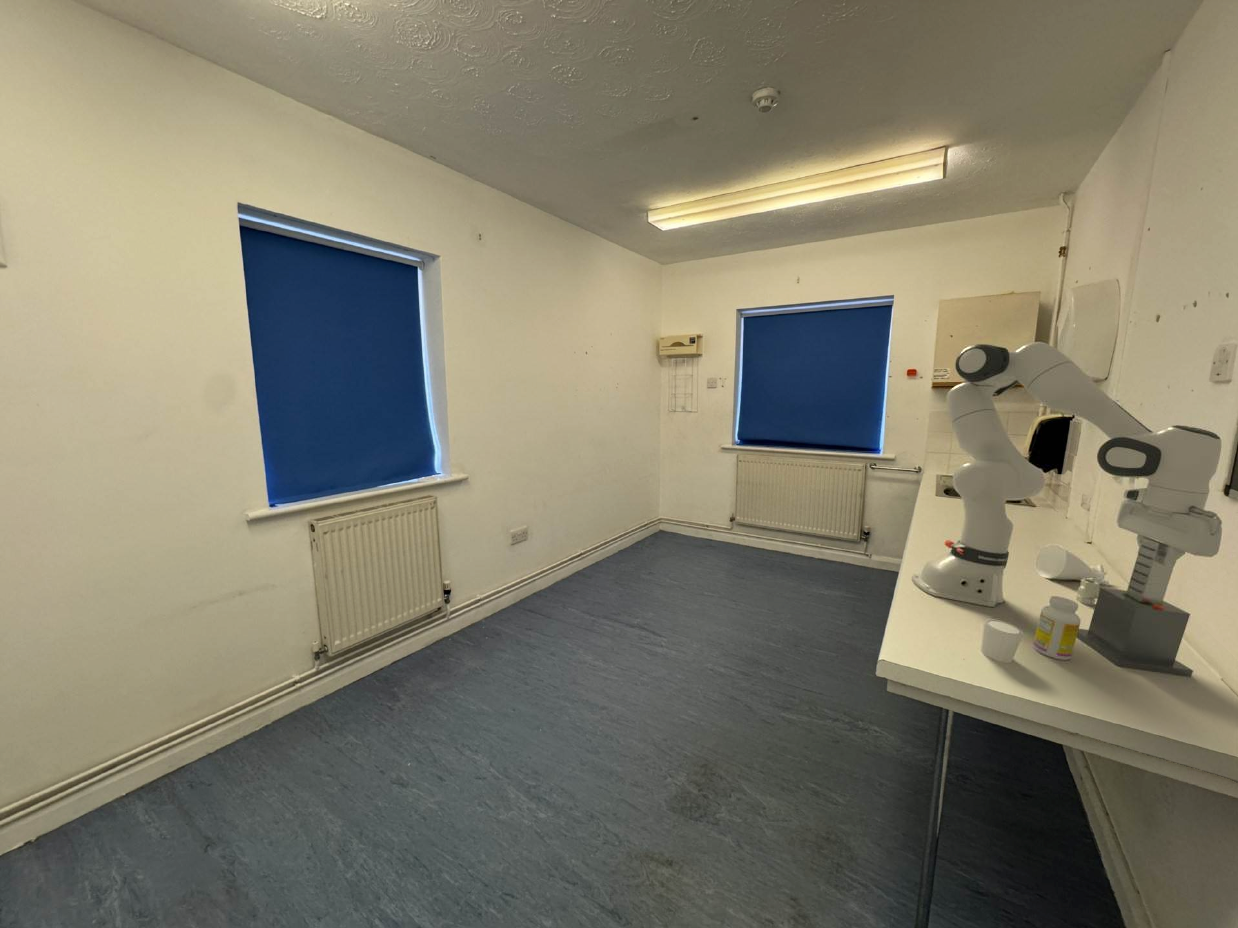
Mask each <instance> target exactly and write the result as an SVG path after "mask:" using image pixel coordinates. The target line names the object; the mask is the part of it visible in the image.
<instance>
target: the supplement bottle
mask: <svg viewBox="0 0 1238 928" xmlns="http://www.w3.org/2000/svg"><path fill="white" fill-rule="evenodd" d="M1078 609H1079V604H1078V603H1077V601H1074V600H1071V599H1069V598H1066V597H1062V596H1055V595H1054V596H1053V595H1051V596H1050V599H1049V605H1046V606H1043V607H1042V608H1041V611H1040V614H1039V619H1038V623H1037V626H1036V631H1035V634H1034V639H1033V643H1032V646H1033V649H1035V650H1036V651H1037V652H1039V653H1040V654H1042V655H1044V656H1047V657H1049V658H1052V659H1055V660H1060V661H1066V660H1067V661H1068V660H1070V659H1071V657H1072V655H1073V651H1074V647H1075V644H1076V640H1077V633H1078V629H1080V625H1081V617H1080V616H1079V615H1078V614H1077V613H1076V611H1078Z"/></svg>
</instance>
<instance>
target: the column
mask: <svg viewBox="0 0 1238 928" xmlns="http://www.w3.org/2000/svg"><path fill="white" fill-rule="evenodd" d="M1168 547H1169V546H1168V545H1166V544H1163V543H1160V542H1158V541H1155V540H1152V539H1149V538H1143V539H1142V542H1141V546H1140V549H1139V548H1138V550H1139V552H1138V551H1137V555H1136V560H1135V563H1134V565H1133V570H1132V573H1131V576H1130V580H1129V582H1128V586H1127V589H1126V591H1127V592H1126V593H1125V596H1127V597H1129V598H1131V599H1132V600H1134V601H1136V602H1138V603H1140V604H1147V605H1153V604H1154V603H1156V604H1160V605H1163V603H1162V602H1163V601H1164V599H1165V596H1166V592H1167V589H1168V586H1169V583H1170V580H1171V576H1172V573H1173V569H1174V567H1169V566H1165V565H1163V564H1160V560H1161V559H1160V558H1161V556H1166V555H1167V554H1168V553H1169V552H1170V551H1168Z"/></svg>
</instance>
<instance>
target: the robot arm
mask: <svg viewBox="0 0 1238 928" xmlns="http://www.w3.org/2000/svg"><path fill="white" fill-rule="evenodd" d="M954 366H955V370H956V373H957V374H958V375H959V377H960V378H961V379H963V381H962V382H961V383H959V384H957V385H955V386H954V387H952V388H950V390H948V392H947V395H946V405H947V410H948V411H947V412H948V415H949V420H950V422H951V426H952V428H953V430H954V433H955V436H956V439H957V441H958V444H959V447H960V448H961V450H963V452H964V453H966V454H967V455H969V456H971V458H972V459H974V461H970V462H967V463H964V464H961V465H959V467H957V468H956V469H955V471H954V472H953V476H952V484H953V485H952V486H953V488H954V490H955V491H956V492H957V493H958V495H959V496H960V498H961V500H962V503H963V504H962V505H963V511H964V516H963V517H964V518H963V523H962V529H961V534H960V539H959V540H957V542H956V543H954V542H953V541H952V540H950V539H947V540H946V541H944V543H943V544H944V545H945V547H947V548H949V549H951V550H950V552H948V553H945V554H943V555H940V556H938V557H935V558H933V559H930V560H928V561H927V562H926V563H924V566H923V567H922V571H921V572H920V573H912V576H911V581H912V582H913V583H914V584H915V585H916V586H917V587H918V588H919V589H921V590H923V592H926V593H927V594H929V595H931V596H933V597H938V598H939V597H940V598H944V599H949V600H954V601H959V602H964V603H969V604H975V605H980V606H985V607H989V608H995V607H996V605H997V604H1001V603H1003V602H1004V595H1003V594H1004V593H1003V581H1004V580H1003V578H1004V577H1003V576H1004V572H1005V571H1004V570H1005V569H1006V566H1007V564H1008V560H1009V554H1010V552H1009V547H1010V544H1011V543H1010V542H1011V538H1012V534H1013V531H1014V524H1013V523H1012V521H1011V520H1010V519H1009V518H1008V516H1007V511H1006V502H1007V501H1021V500H1026V499H1029V498H1032V497H1034V496H1037V495H1038V494H1039V493H1041V492H1042V491H1043V489H1044V487H1045V485H1046V484H1045V483H1046V481H1045V476H1044V473H1043V472H1042V470H1040V468H1038V467H1037V466H1035V465H1034V464H1033V463H1031V462H1029V461H1028V460H1027V459H1026V458H1025V456H1024V455H1023V454H1022V453H1021V451H1020V450H1019V449H1018V448H1017V447H1016V446H1015V444H1014V443H1013V442H1012V440H1011V439H1010V437H1009V436H1008V434H1007V432H1006V429H1005V428H1004V426H1003V423H1002V420H1001V419H1000V416H999V414H998V411H997V408H996V406H995V404H994V402H993V401H994V400H993V397H997V396H1001V395H1002V394H1003V393H1004V392H1005V391H1008V390H1009V389H1012V388H1013V387H1015V386H1016V385H1017V384H1020V385H1021V386H1022V387H1024V389H1025V390H1026V391H1027V392H1028V393H1029V394H1030V395H1031V396H1032V397H1033V398H1034V399H1035V400H1036V401H1037V402H1039V403H1041V404H1042V405H1043V406H1045V407H1046V408H1048V409H1051V410H1053V411H1056V412H1061V413H1063V414H1064V413H1065V414H1068V415H1073V416H1076V417H1079V418H1081V419H1084V420H1085V421H1088V422H1090V423H1091V424H1093V425H1095V427H1096V428H1097V429H1099V430H1100V431H1101V432H1102V433H1103V434H1105V435H1106V436H1107V437H1108V438H1109V440H1107V441H1105V442H1104V443H1102V445H1100V447H1099V448H1098V451H1097V453H1096V460H1097V464H1098V465H1099V467H1100V468H1101V469H1102V470H1103V471H1104V472H1105V473H1107V474H1110V475H1112V476H1115V477H1118V478H1119V477H1120V478H1127V479H1129V478H1133V479H1134V478H1135V479H1137V478H1139V479H1141V478H1143V479H1147V480H1148V481H1147V482H1148V483H1147V486H1146V488H1145V487H1144V488H1143V487H1142V488H1141V487H1140V488H1128V489H1125V490H1124V492H1123V498H1124V500H1123V501H1122V502H1121V505H1120V506H1119V509H1118V513H1117V518H1116V523H1117V526H1118V528H1120V529H1122V530H1125V531H1128V532H1131V533H1134V534H1137V536H1136V541H1137V545H1138V551H1137V553H1138V552H1139V549H1140V546H1141V542H1142V539H1143V538H1149V539H1152V540H1155V541H1158V542H1160V543H1163V544H1166V545H1168V546H1169V547H1168V551H1170V552H1169V553H1168V554H1167V555H1166V556H1161V558H1160V559H1161V560H1160V564H1163V565H1165V566H1169V567H1173V568H1174V567H1175V566H1176V563H1177V560H1179V559H1180V558H1182V557H1183V556H1185V554H1186V553H1187V554H1190V555H1193V556H1195V557H1196V556H1198V557H1204V558H1205V557H1207V558H1212V557H1215V556H1216V555H1218V553H1219V551H1220V546H1221V541H1222V535H1223V527H1222V526H1223V525H1222V524H1223V520H1222V519H1221V518H1220V517H1219V515H1218V514H1217V513H1216V512H1215V511H1211V510H1207V509H1205V506H1206V503H1207V500H1208V497H1209V494H1210V481H1211V480H1212V478H1213V477H1214V475H1215V474H1216V473H1217V470H1218V466H1219V462H1220V458H1221V454H1222V439H1221V437H1220V436H1219V435H1218V434H1217V433H1215V432H1212V431H1211V430H1206V429H1202V428H1200V427H1199V428H1197V427H1194V426H1193V427H1192V426H1187V425H1179V424H1178V425H1177V424H1176V425H1170V426H1168V427H1166V428H1163V429H1160V430H1156V431H1153V430H1150V429H1149V428H1148V427H1147V426H1146V425H1144V424H1143V423H1142V422H1141V421H1139V420H1138V419H1136V417H1134V416H1133V415H1132V414H1131V413H1130V412H1128V411H1127V410H1126V409H1125V408H1124V407H1122V406H1121V405H1119V404H1118V403H1117V402H1116V401H1115V400H1114V399H1112V398H1111V397H1110V396H1109V395H1108V394H1107V393H1105V392H1104V390H1103V389H1101V388H1100V387H1099V385H1097V384H1096V383H1095V382H1094V381H1093V380H1092V379H1091V378H1090V377H1089V375H1088V374H1086V372H1084V371H1083V369H1081V368H1080V367H1079V366H1078V365H1077V364H1076V363H1075V362H1074V361H1073V360H1072V359H1071V358H1069V357H1068V356H1066V354H1064V353H1063V352H1062V351H1059V350H1058V349H1057V348H1056V347H1054V346H1052V345H1050V344H1049V343H1046V342H1042V341H1034V342H1030V343H1027V344H1025V345H1023V346H1021V347H1019V349H1016V350H1015V351H1014V350H1013V351H1008V349H1007V348H1006V347H1002V346H996V345H992V344H986V343H979V344H973V345H969V346H967V347H965V348H964V349H962V350H961V352H960V353H959V354H958V355H957V357H956V359H955V365H954Z"/></svg>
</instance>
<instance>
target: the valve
mask: <svg viewBox="0 0 1238 928" xmlns="http://www.w3.org/2000/svg"><path fill="white" fill-rule="evenodd" d="M1088 579H1089V578H1087V579H1082V580H1081V581H1080V586H1079V587H1078V588H1077V595H1076V599H1075V601H1076V602H1078V603H1080V604H1084V605H1086V606H1094V605H1095V604H1096V600H1097V599H1098V595H1099V592H1100V587H1101V586H1100V585H1101V584H1099V583H1098V582H1095V581H1093V580H1088Z"/></svg>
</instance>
